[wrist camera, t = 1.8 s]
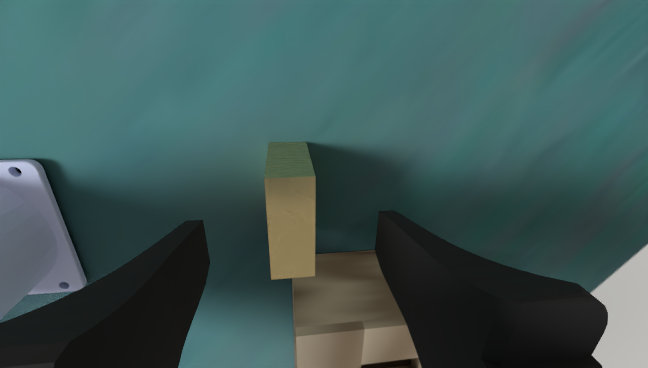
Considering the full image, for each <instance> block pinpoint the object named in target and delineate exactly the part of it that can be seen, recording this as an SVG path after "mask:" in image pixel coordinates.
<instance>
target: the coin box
mask: <svg viewBox="0 0 648 368" xmlns="http://www.w3.org/2000/svg"><path fill="white" fill-rule="evenodd" d="M292 295H293V325H294V355H295V368H422V367H421V364H420V361H419V358H418V355H417V352H416V349H415V346H414V343H413V341H412V338H411V335H410V332H409V330H408V327H407V324H406V322H405V320H404V317H403V315H402V313H401V311H400V309H399V307H398V305H397V303H396V301H395V299H394V297H393V295H392V293H391V290H390V288H389V286H388V284H387V282H386V280H385V278H384V276H383V274H382V271H381V269H380V266H379V263H378V259H377V256H376V253H375V250H367V251H353V252H339V253H325V254H315V276H311V277H299V278H292Z"/></svg>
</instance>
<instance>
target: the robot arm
mask: <svg viewBox="0 0 648 368" xmlns="http://www.w3.org/2000/svg"><path fill="white" fill-rule="evenodd" d="M15 167H17V168H18V169H20V171H21V173H22V174H21V173H19V172H17V171H16V169H15ZM375 253H376V256H377V259H378V263H379V266H380V269H381V271H382V274H383V276H384V278H385V280H386V282H387V284H388V286H389V288H390V290H391V293H392V295H393V297H394V299H395V301H396V303H397V305H398V307H399V309H400V311H401V313H402V315H403V317H404V320H405V322H406V324H407V327H408V330H409V332H410V335H411V338H412V341H413V343H414V346H415V349H416V352H417V355H418V358H419V361H420V364H421V367H422V368H602V365H601V364H600V363H599V362H598V361H597V360H596V359H595V358H594V357H593V356H592V353H593V351H594V349H595V348H596V346H597V344H598V342H599V340H600V339H601V337H602V335H603V333H604V331H605V329H606V326H607V321H608V312H607V310H606V307H605V306H604V305H603V304H602V303H601V302H600V301H599V300H597V299H596V298H595V297H594V296H592V295H591V294H590V293H589V292H587V291H586V290H585V289H584V288H583V287H581V286H580V285H579V284H576V283H572V282H567V281H563V280H558V279H553V278H549V277H544V276H540V275H536V274H532V273H529V272H525V271H521V270H518V269H514V268H511V267H508V266H505V265H502V264H499V263H496V262H493V261H490V260H488V259H485V258H482V257H480V256H477V255H475V254H472V253H470V252H468V251H466V250H463V249H461V248H459V247H457V246H455V245H453V244H451V243H449V242H447V241H445V240H443V239H441V238H439V237H437V236H436V235H434V234H432V233H430V232H429V231H427V230H425V229H424V228H422V227H420V226H419V225H417V224H415V223H414V222H412V221H411V220H409V219H407V218H406V217H404V216H402V215H401V214H399V213H397V212H395V211H379V218H378V227H377V237H376V246H375ZM209 265H210V259H209V254H208V248H207V242H206V236H205V230H204V224H203V220H195V221H186V222H184V223H183V224H181V225H180V226H178V227H177V228H176V229H174V230H173V231H172V232H170V233H169V234H168V235H166V236H165V237H164V238H162V239H161V240H160V241H158V242H157V243H156V244H154V245H153V246H152V247H150V248H149V249H147V250H146V251H144V252H143V253H141V254H140V255H138V256H137V257H135V258H134V259H133V260H131V261H130V262H128V263H127V264H125V265H123V266H122V267H120V268H118V269H117V270H115V271H113V272H112V273H110V274H108V275H106V276H105V277H103V278H101V279H99V280H97V281H96V282H94V283H92V284H90V285H88V286H86V287H84V286H85V285H86V283H87V280H86V277H85V275H84V272H83V269H82V267H81V264H80V262H79V259H78V257H77V254H76V251H75V249H74V246H73V244H72V241H71V238H70V236H69V233H68V231H67V228H66V225H65V223H64V220H63V218H62V215H61V213H60V210H59V207H58V205H57V202H56V200H55V197H54V194H53V192H52V189H51V187H50V184H49V181H48V179H47V176H46V174H45V171H44V169H43V167H42V165H41V164H39V163H38V162H37V161H34V160H30V159H20V160H0V320H1V319H2V318H3V317H4V316H5V315H6V314H7V313H8V312H9V311H10V310H11V309H12V308H13V307H14V306H15V305H16V304H17V303H18V302H20V301H21V300H22V299H23V298H24V297H25V296H26V295H32V294H45V293H57V292H70V291H75V292H73V293H71V294H69V295H67V296H65V297H63V298H61V299H59V300H57V301H54V302H52V303H50V304H47V305H45V306H43V307H40V308H38V309H36V310H33V311H31V312H28V313H26V314H23V315H21V316H18V317H16V318H13V319H10V320H8V321H5V322H2V323H0V368H178V366H179V362H180V358H181V354H182V350H183V346H184V343H185V340H186V337H187V334H188V331H189V329H190V326H191V323H192V320H193V318H194V315H195V312H196V309H197V307H198V304H199V301H200V298H201V295H202V293H203V290H204V287H205V284H206V279H207V275H208V270H209ZM64 282H66V283H68V284H66V283H64ZM83 287H84V288H83Z"/></svg>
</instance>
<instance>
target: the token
mask: <svg viewBox="0 0 648 368" xmlns="http://www.w3.org/2000/svg"><path fill="white" fill-rule="evenodd" d="M264 181H265V196H266V210H267V225H268V239H269V254H270V268H271V280H273V279H286V278H299V277H311V276H315V205H316V176H315V172H314V169H313V165H312V162H311V158H310V155H309V151H308V148H307V144H306V142H271V143H269V144H268V152H267V160H266V168H265V177H264Z"/></svg>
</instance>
